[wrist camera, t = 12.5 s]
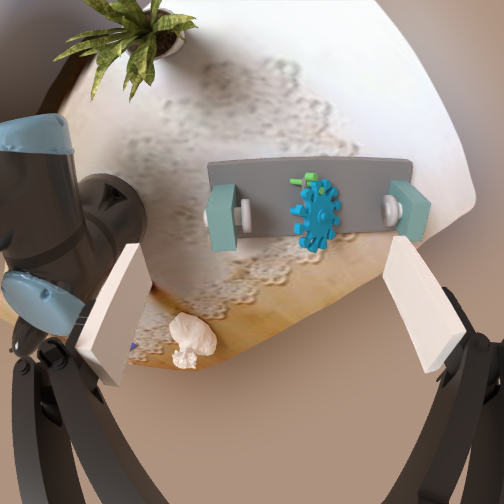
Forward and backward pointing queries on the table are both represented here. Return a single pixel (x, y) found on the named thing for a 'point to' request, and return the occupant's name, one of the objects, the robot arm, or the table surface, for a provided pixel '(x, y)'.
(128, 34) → the house plant
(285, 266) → the table surface
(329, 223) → the gear
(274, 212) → the shaft stand
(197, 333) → the white irregular lump
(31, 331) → the dark grey egg shape
